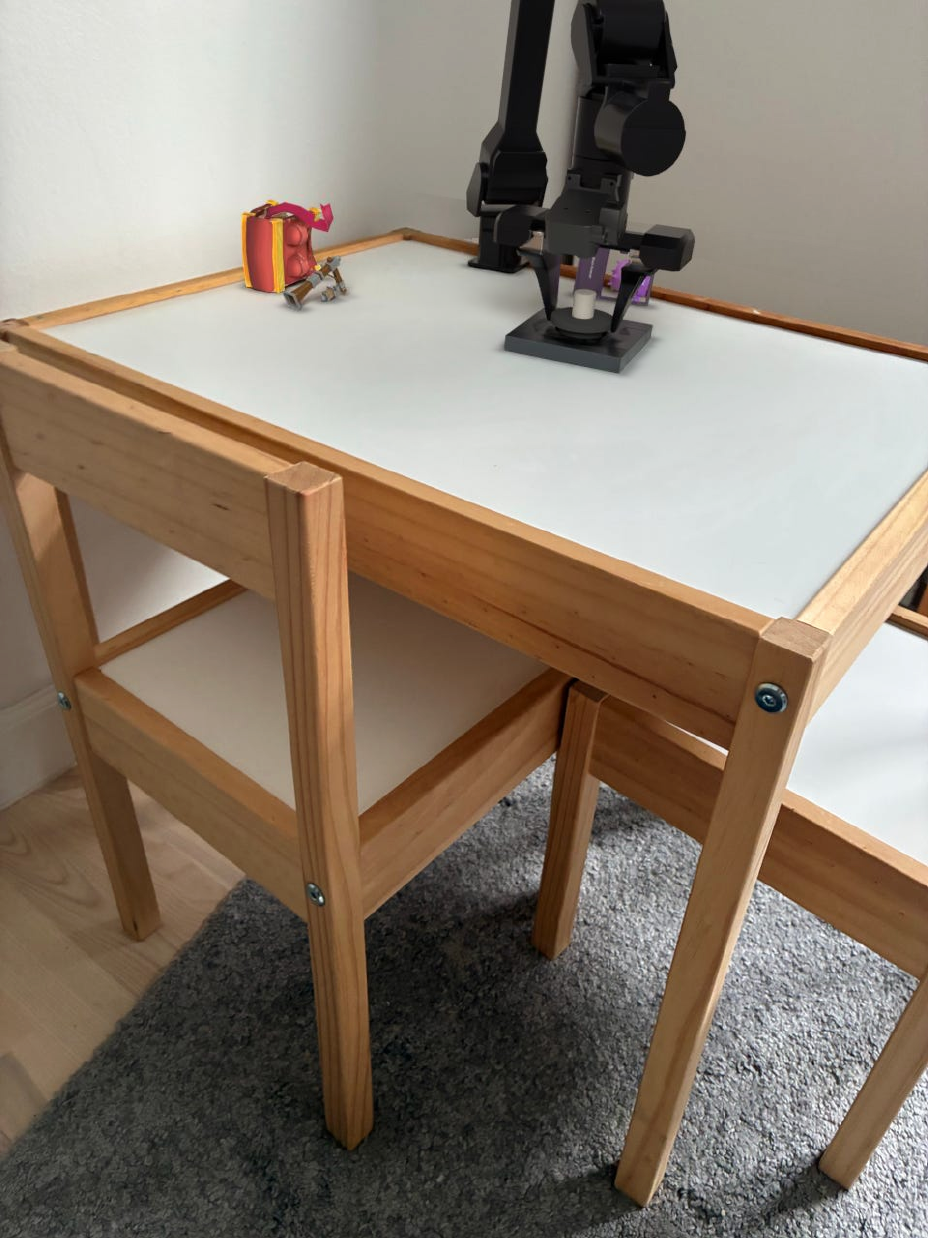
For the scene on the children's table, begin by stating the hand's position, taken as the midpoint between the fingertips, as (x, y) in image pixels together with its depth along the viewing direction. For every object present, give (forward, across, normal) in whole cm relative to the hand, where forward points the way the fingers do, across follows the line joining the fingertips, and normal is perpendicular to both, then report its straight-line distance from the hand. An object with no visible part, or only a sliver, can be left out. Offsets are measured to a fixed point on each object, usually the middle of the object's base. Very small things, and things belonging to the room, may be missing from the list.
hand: (581, 325), depth 92 cm
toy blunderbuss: (+2, -30, -3) cm, 30 cm away
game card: (+2, -2, +19) cm, 19 cm away
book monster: (+2, -35, +1) cm, 35 cm away
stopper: (+1, 0, 0) cm, 1 cm away
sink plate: (+2, 0, 0) cm, 2 cm away
